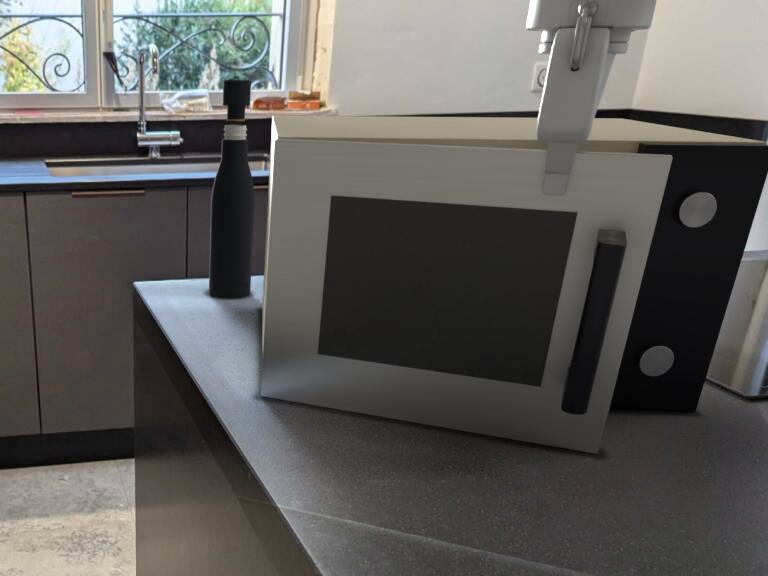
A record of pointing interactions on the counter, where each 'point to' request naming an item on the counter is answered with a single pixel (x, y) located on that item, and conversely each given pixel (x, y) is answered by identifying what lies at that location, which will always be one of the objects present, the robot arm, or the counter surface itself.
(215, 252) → the black screw-cap bottle
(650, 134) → the microwave
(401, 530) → the counter surface
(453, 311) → the microwave door
